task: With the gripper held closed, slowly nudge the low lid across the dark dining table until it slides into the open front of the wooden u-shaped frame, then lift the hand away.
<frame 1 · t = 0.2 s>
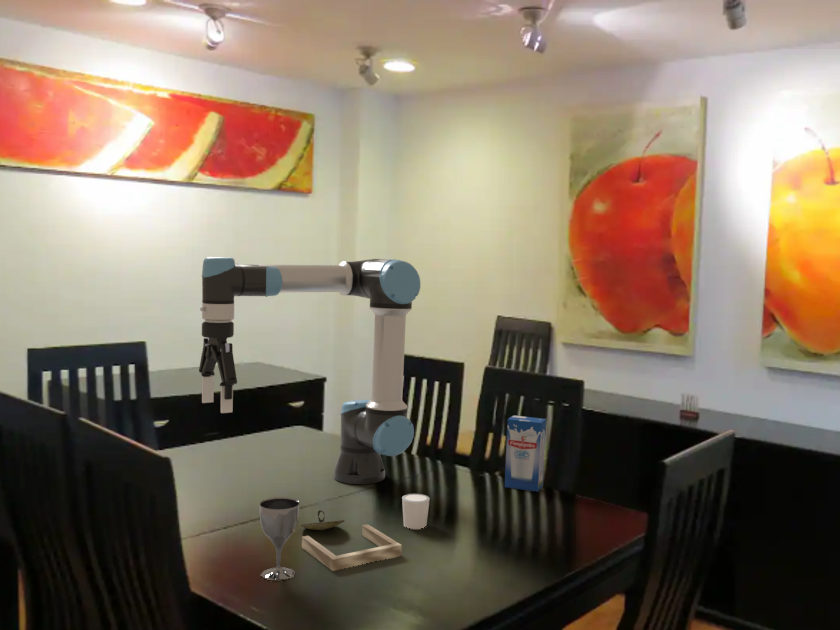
hand: (216, 407, 192), 28 cm above the table, tool pointing down, fingers open, 13 cm apart
milk carton: (523, 487, 229), on the table
wooden u-shaped frame: (350, 551, 175), on the table
lid: (321, 532, 187), on the table
wine glass: (278, 575, 162), on the table
white cup: (414, 526, 193), on the table
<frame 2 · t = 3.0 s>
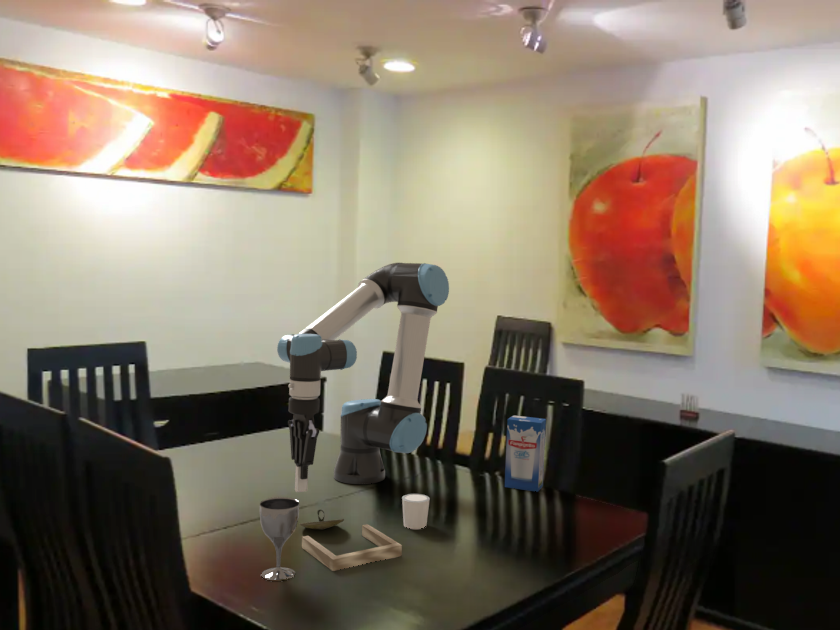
hand: (301, 490, 195), 7 cm above the table, tool pointing down, fingers closed
nothing on the table moved.
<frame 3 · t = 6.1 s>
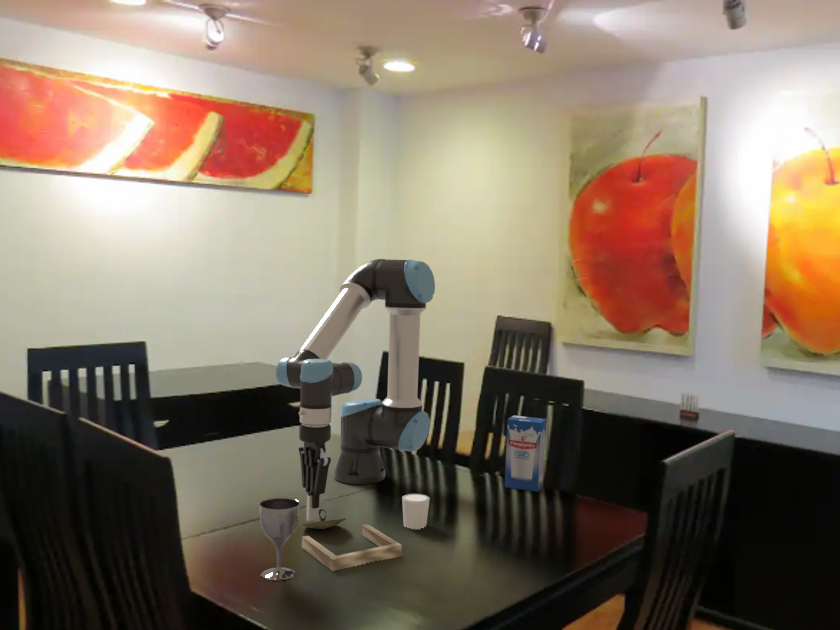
hand: (312, 519, 191), 2 cm above the table, tool pointing down, fingers closed
lid: (323, 531, 188), on the table, touching gripper
everything else where it was.
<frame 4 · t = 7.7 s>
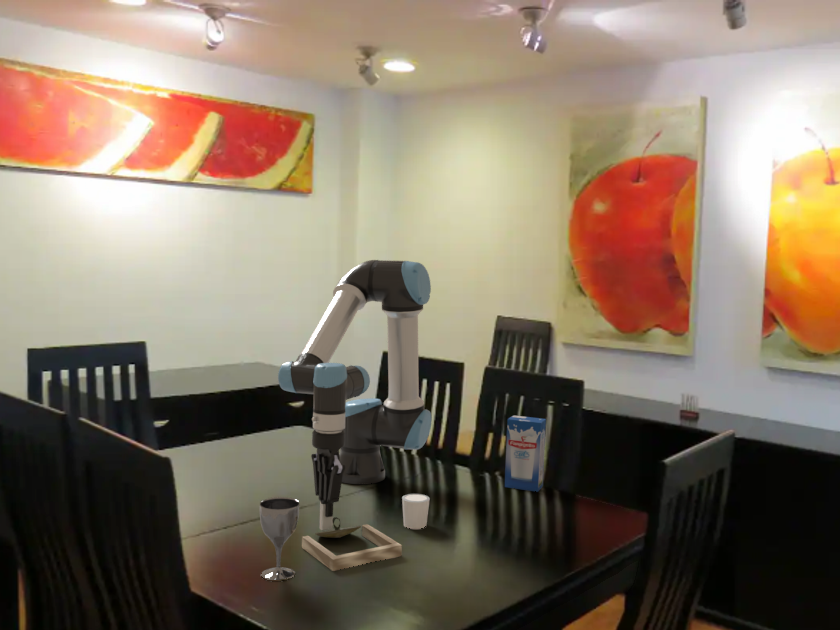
hand: (326, 528, 185), 1 cm above the table, tool pointing down, fingers closed
lid: (337, 540, 182), on the table, touching gripper
everything else where it was.
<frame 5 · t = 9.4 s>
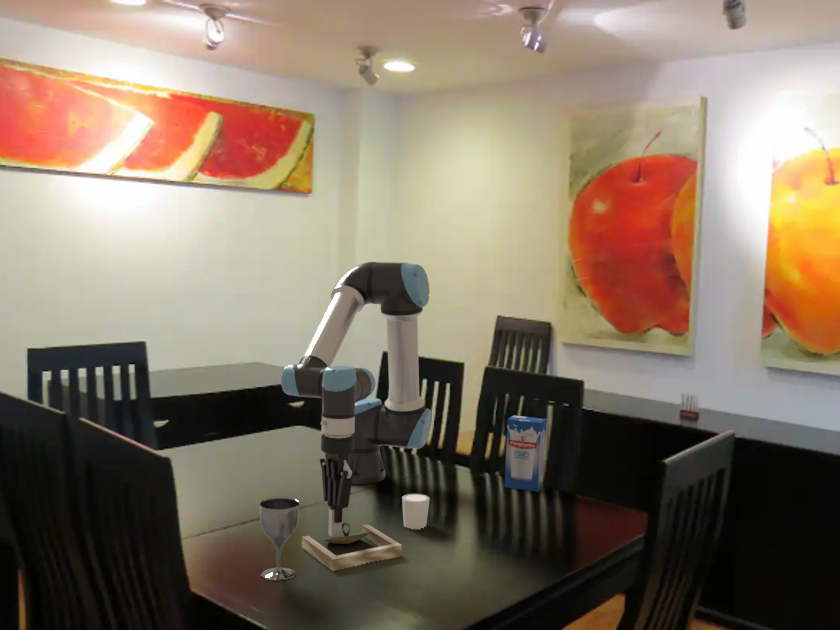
hand: (335, 534, 181), 1 cm above the table, tool pointing down, fingers closed
lid: (346, 546, 179), on the table, touching gripper
everything else where it was.
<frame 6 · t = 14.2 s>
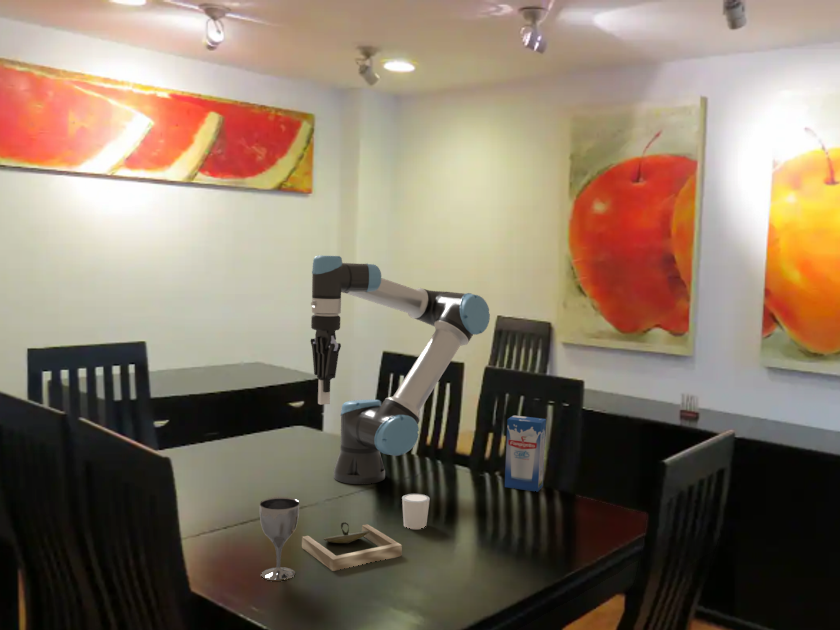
hand: (323, 403, 207), 26 cm above the table, tool pointing down, fingers closed
lid: (345, 545, 179), on the table
everything else where it was.
at the end: lid inside the target area on the wooden u-shaped frame (4.8 cm from its centre), point 0.0 cm above the wooden u-shaped frame's base; lid tilted 0°; lid moved 10.0 cm from its start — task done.
